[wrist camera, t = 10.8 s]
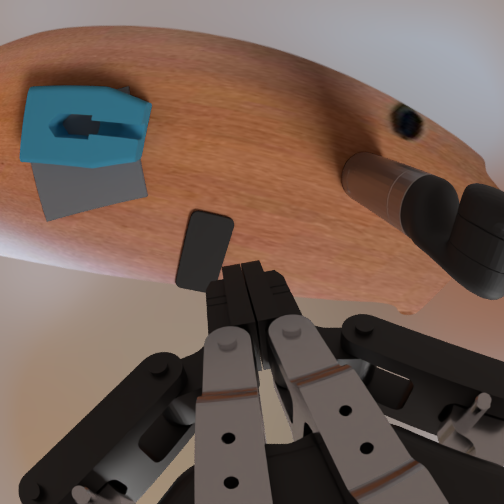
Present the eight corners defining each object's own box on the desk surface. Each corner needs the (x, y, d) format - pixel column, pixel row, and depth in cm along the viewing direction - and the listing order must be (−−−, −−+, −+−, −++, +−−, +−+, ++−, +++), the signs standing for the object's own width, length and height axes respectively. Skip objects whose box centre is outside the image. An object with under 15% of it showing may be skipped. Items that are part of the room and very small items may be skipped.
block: (155, 92, 36) (44, 87, 31) (149, 89, 31) (29, 86, 26) (139, 168, 40) (34, 157, 35) (132, 175, 36) (19, 162, 31)
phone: (174, 286, 51) (192, 210, 45) (174, 284, 52) (192, 208, 46) (213, 294, 53) (236, 220, 47) (213, 291, 54) (235, 218, 48)
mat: (129, 86, 35) (128, 86, 34) (147, 195, 43) (147, 196, 43) (26, 124, 33) (24, 125, 32) (48, 220, 41) (46, 221, 41)
